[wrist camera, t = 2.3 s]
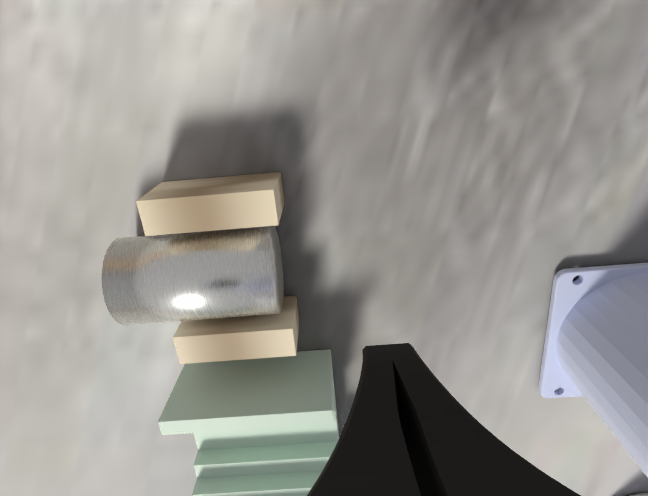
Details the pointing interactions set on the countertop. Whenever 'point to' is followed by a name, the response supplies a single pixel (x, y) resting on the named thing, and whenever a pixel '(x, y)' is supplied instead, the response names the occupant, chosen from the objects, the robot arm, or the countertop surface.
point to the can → (639, 494)
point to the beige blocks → (221, 214)
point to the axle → (194, 276)
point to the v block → (257, 423)
